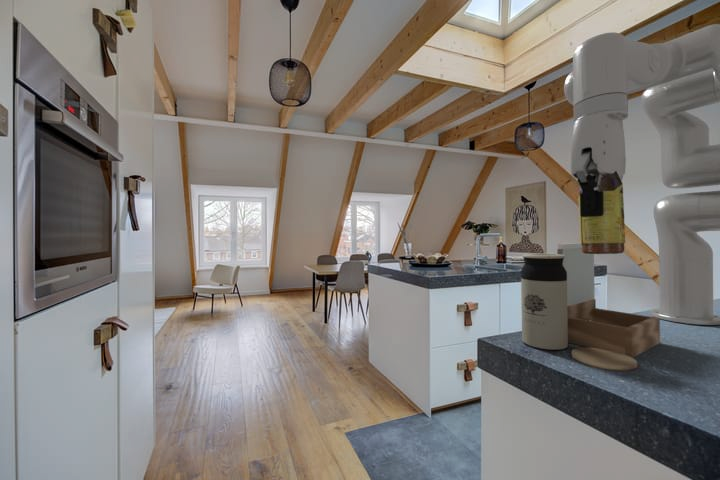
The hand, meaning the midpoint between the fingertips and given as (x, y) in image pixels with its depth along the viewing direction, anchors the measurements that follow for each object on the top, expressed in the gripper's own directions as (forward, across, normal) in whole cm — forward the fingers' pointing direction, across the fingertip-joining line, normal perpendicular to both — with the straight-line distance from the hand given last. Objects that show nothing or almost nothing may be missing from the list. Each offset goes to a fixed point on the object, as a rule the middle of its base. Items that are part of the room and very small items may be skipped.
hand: (601, 215), depth 55 cm
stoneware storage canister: (+25, 0, -10) cm, 27 cm away
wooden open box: (+25, -12, -4) cm, 28 cm away
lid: (+25, -12, -9) cm, 29 cm away
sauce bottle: (+7, 0, 0) cm, 7 cm away
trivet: (+25, 0, 0) cm, 25 cm away
